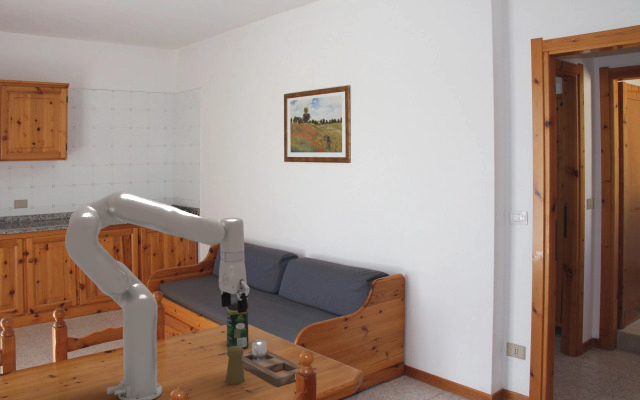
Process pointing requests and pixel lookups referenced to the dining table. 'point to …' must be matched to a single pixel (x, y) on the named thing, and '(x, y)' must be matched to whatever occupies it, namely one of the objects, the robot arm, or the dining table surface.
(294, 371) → the socket board
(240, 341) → the coffee jar
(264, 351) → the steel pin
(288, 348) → the dining table surface
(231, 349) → the olive brown tall piece
